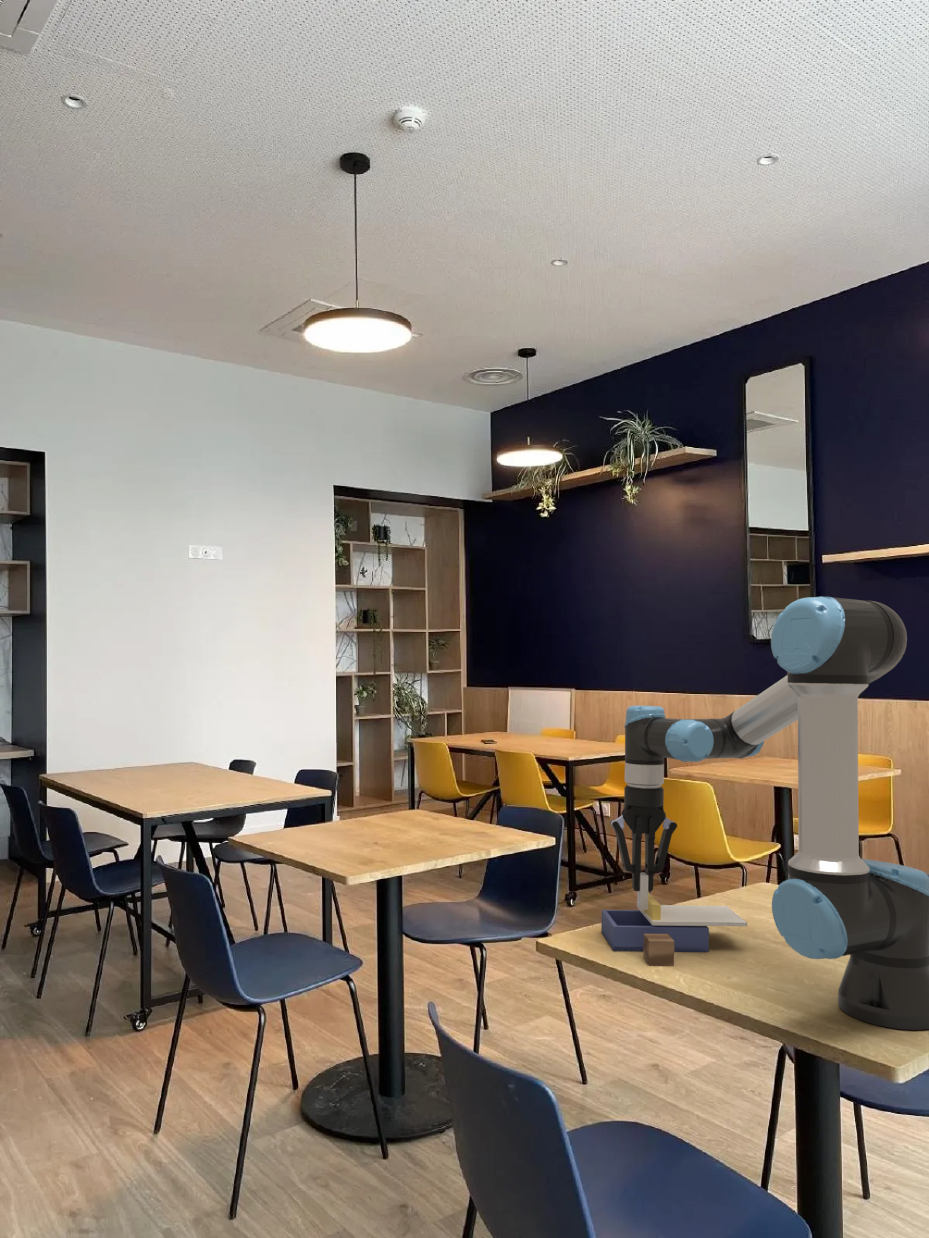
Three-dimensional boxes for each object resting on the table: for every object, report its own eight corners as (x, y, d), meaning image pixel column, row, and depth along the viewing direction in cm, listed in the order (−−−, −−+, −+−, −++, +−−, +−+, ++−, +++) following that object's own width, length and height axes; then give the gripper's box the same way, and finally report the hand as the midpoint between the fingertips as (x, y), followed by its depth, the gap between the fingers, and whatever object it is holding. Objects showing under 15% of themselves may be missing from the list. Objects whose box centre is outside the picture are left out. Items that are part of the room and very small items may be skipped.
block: (674, 966, 167) (674, 941, 167) (649, 966, 167) (649, 940, 167) (667, 958, 171) (668, 933, 172) (643, 958, 171) (643, 933, 172)
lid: (747, 926, 176) (747, 907, 176) (652, 925, 175) (652, 906, 176) (726, 909, 188) (726, 891, 188) (637, 908, 187) (638, 890, 187)
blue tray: (708, 952, 176) (708, 927, 176) (613, 951, 175) (613, 926, 175) (690, 933, 188) (690, 910, 188) (601, 932, 187) (601, 909, 187)
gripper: (671, 783, 186) (670, 903, 185) (607, 782, 186) (605, 902, 185) (682, 788, 179) (681, 913, 178) (614, 787, 178) (613, 912, 177)
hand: (642, 907), depth 181 cm, fingers closed
